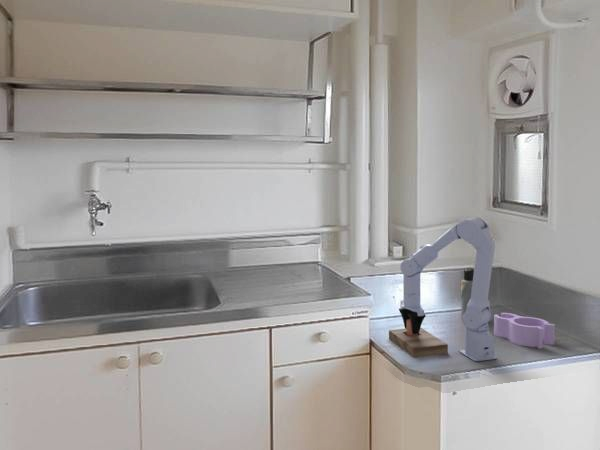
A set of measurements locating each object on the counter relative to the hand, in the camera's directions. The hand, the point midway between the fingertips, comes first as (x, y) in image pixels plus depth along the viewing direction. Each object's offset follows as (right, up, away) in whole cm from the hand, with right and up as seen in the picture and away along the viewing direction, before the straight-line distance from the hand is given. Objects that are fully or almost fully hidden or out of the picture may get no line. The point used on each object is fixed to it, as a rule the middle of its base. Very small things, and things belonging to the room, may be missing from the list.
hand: (411, 331), depth 189 cm
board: (+1, -4, -3) cm, 6 cm away
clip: (+39, -3, +1) cm, 39 cm away
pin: (0, -3, 0) cm, 3 cm away
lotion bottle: (+28, 0, +28) cm, 40 cm away
